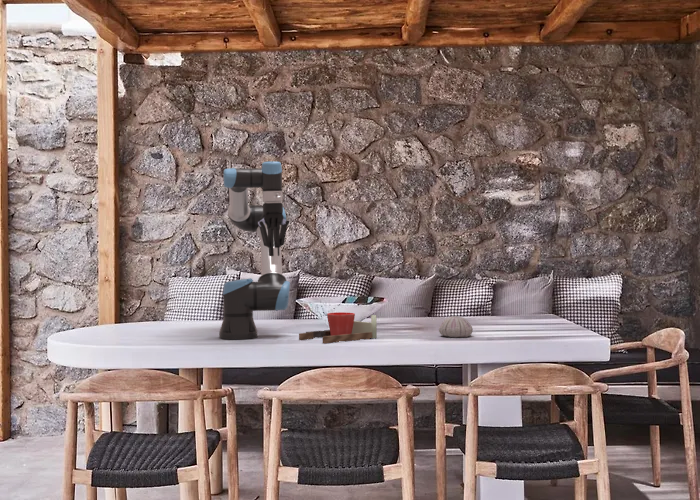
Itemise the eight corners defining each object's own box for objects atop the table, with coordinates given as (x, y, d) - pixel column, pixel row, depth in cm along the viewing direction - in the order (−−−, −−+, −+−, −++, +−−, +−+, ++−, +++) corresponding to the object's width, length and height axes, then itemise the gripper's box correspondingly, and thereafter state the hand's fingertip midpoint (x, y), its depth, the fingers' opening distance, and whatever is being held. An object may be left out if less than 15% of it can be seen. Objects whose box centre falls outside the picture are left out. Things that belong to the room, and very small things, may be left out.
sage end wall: (373, 338, 306) (373, 315, 306) (344, 335, 321) (344, 313, 321) (377, 338, 307) (377, 315, 307) (348, 334, 322) (347, 312, 322)
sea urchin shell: (463, 334, 321) (463, 314, 321) (478, 337, 308) (478, 317, 308) (433, 335, 317) (433, 315, 317) (447, 339, 304) (447, 318, 304)
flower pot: (354, 339, 305) (354, 314, 305) (326, 339, 306) (326, 314, 306) (355, 336, 316) (355, 312, 316) (328, 336, 316) (327, 312, 316)
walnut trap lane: (324, 343, 292) (324, 336, 293) (294, 339, 308) (294, 332, 308) (375, 338, 308) (375, 331, 308) (344, 334, 323) (344, 328, 323)
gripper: (262, 202, 293) (264, 266, 294) (292, 202, 300) (294, 264, 301) (252, 203, 299) (254, 265, 300) (282, 202, 306) (284, 263, 307)
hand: (274, 264), depth 301 cm, fingers closed
